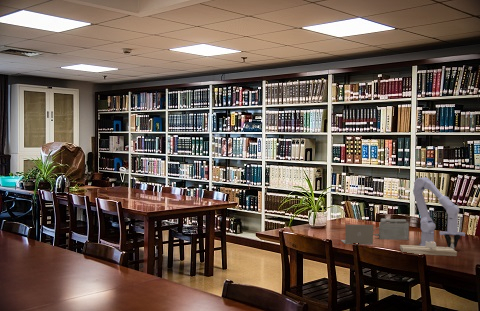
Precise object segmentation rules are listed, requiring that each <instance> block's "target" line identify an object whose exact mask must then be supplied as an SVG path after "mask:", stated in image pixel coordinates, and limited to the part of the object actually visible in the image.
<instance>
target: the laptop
mask: <svg viewBox="0 0 480 311" xmlns="http://www.w3.org/2000/svg"><path fill="white" fill-rule="evenodd" d="M373 230H374V224H345V232H344V233H345V236H344V237H345V239H340V241H341V242H342V243H343V244H344V245H354V244H353V243H359V244H358V245H373V244H374V235H373V234H374V231H373Z"/></svg>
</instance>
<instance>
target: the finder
mask: <svg viewBox="0 0 480 311" xmlns="http://www.w3.org/2000/svg"><path fill="white" fill-rule="evenodd" d="M426 247H427V248H436V247H437V243H436V242H435V240H434V241H426Z"/></svg>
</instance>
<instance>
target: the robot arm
mask: <svg viewBox="0 0 480 311" xmlns="http://www.w3.org/2000/svg"><path fill="white" fill-rule="evenodd" d="M413 184H414V186H413V190H412V192H413V196H414V199H415V202H416V206H417V209H418V212H419V213H418V214H419V216H420V221H419V222H420V223H419V224H420V230H421V235H420V243H419V246H426V241H434V242H435V229H436V227H437V226H436V224H435V222H434V221H433V219H432V217H431V216H430V213H429V210H428V207H427V204H426V200H425V197H424V194H423V192H424V191H425V189H426V190H429V191H430V192H431V193H432V194H433V195H434V197H436V198H437V199H438V203H439V204H440V205H441V207H443V208H444V210H445V211H446V214H447V226H446V227H447V228H446V229H447V230H446V231H442V230H441V231H439V235H440V236H443V237H444V238H445V241H446V243H447V244H446V245H447V246H446V247H450V237H451V236H453V237H455V246H454V249H455V248H457V245H458V243H459V241H460V240H461V236H463V237H465V236H466V232H462V231H458V226H459V225H458V223H459V222H458V220H459V216H458V215H459V213H460V208H459V206H458V205H456V204H455V203H454V202H452V201H451V200H450V197H449V196H447V195H443V194H442V193H441V191H440V190H439V189H438V188H437V187H436V185H435V184H434V182H433V181H432V180H431V179H430V178H428V177H427V176H424V177H423V176H422V177H418V178H416V179H415V180H414V182H413Z"/></svg>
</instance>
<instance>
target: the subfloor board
mask: <svg viewBox="0 0 480 311" xmlns="http://www.w3.org/2000/svg"><path fill="white" fill-rule="evenodd" d="M399 250H400V251H401V253H403V252H407V253H414V254H413V255H423V254H425V255H426V256H428V255H429V256H443V257H445V256H448V257H457V256H458V255H457V254H458V251H456V250H455V248H454V249H452V248H451V247H448V246H436V248H427V247H426V246H421V245H407V244H399Z"/></svg>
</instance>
